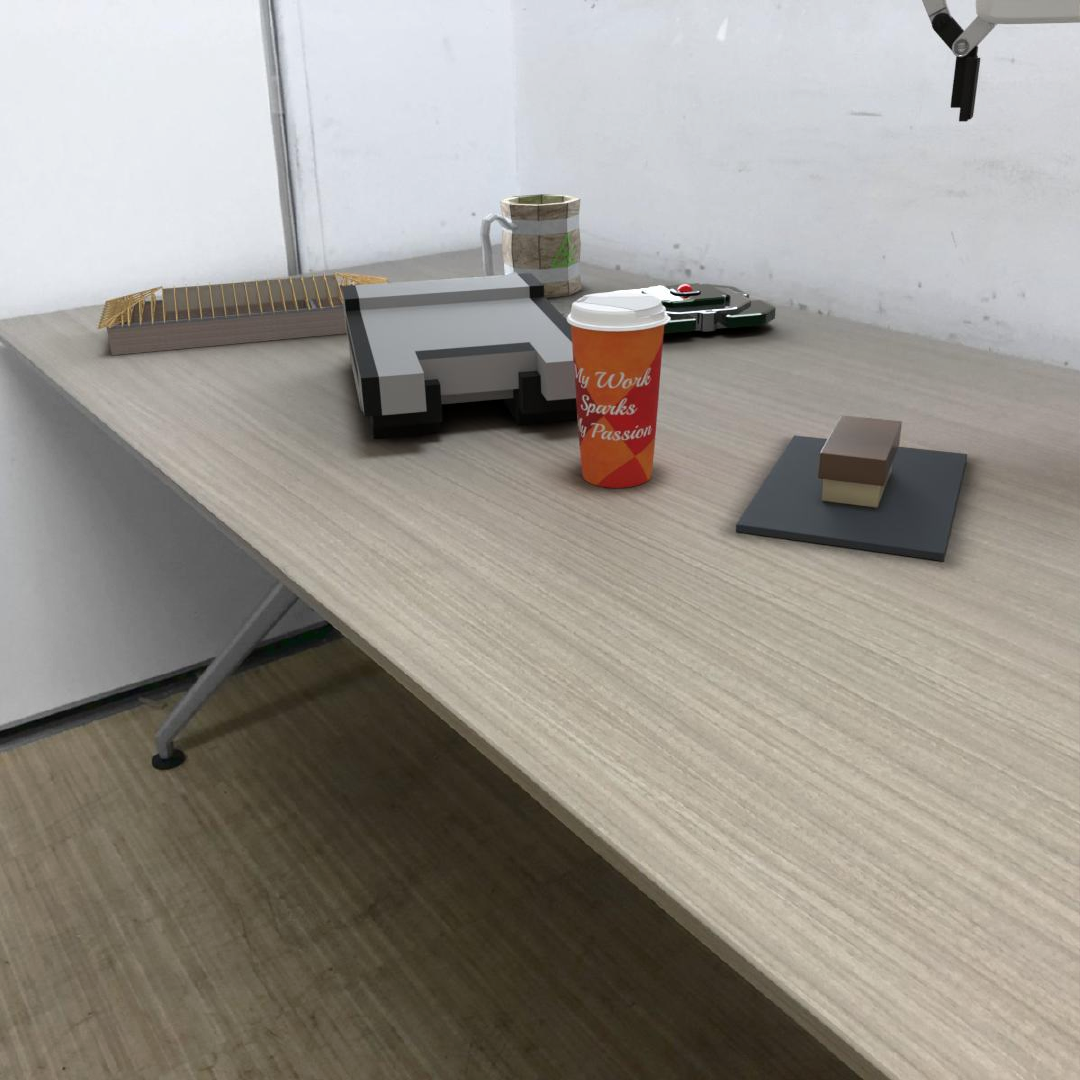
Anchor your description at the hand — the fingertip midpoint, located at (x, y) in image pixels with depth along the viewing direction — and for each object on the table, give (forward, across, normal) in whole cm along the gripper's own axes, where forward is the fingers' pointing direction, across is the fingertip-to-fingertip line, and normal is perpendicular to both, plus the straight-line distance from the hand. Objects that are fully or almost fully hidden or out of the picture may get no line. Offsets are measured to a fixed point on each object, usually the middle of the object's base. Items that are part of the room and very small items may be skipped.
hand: (1042, 120), depth 74 cm
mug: (+26, -62, +53) cm, 86 cm away
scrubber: (+26, -9, -5) cm, 28 cm away
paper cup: (+26, -27, -7) cm, 39 cm away
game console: (+26, -49, +8) cm, 57 cm away
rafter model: (+26, -86, +24) cm, 93 cm away
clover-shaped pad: (+26, -37, +43) cm, 63 cm away
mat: (+26, -9, -5) cm, 28 cm away
